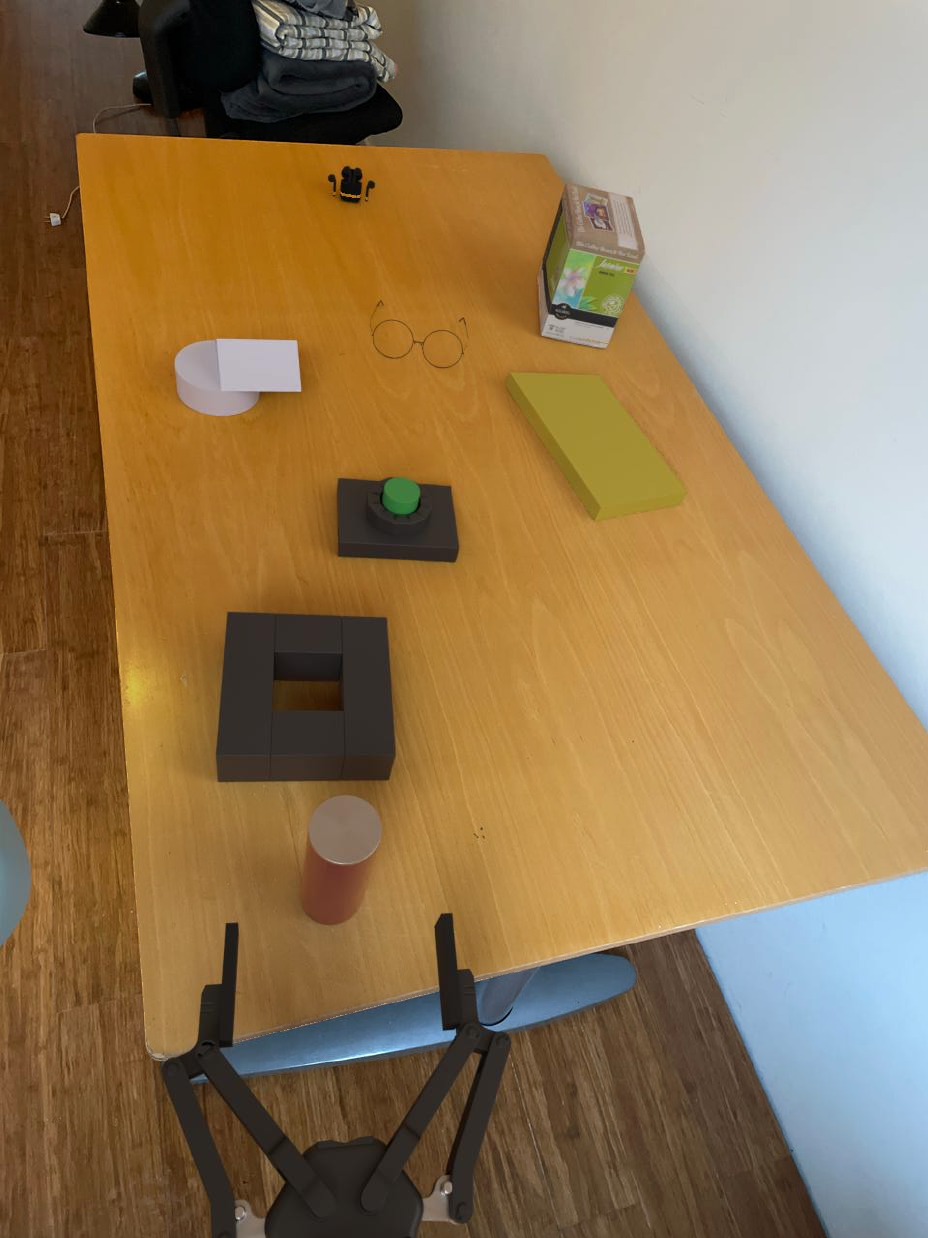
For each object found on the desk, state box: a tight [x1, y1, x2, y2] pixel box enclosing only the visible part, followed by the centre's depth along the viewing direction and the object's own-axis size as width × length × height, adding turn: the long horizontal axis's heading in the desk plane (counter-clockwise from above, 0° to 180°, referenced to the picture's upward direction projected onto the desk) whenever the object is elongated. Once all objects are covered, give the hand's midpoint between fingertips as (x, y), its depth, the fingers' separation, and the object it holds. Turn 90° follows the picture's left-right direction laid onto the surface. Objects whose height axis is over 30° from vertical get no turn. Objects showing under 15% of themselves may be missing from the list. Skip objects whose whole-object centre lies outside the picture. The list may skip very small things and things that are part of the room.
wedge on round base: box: [174, 338, 302, 417], centre depth 90 cm, size 9×7×13 cm
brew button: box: [382, 476, 420, 515], centre depth 81 cm, size 4×4×2 cm
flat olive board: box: [504, 371, 688, 522], centre depth 99 cm, size 12×2×24 cm
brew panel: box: [335, 476, 460, 563], centre depth 83 cm, size 12×9×4 cm
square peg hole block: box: [215, 611, 397, 783], centre depth 68 cm, size 14×14×4 cm
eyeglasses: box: [369, 300, 469, 369], centre depth 104 cm, size 11×13×5 cm
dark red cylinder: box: [299, 794, 383, 926], centre depth 56 cm, size 5×5×12 cm
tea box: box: [536, 182, 646, 349], centre depth 111 cm, size 15×10×15 cm
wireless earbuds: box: [327, 165, 376, 204], centre depth 122 cm, size 7×2×5 cm, turn 95°
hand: (340, 923), depth 53 cm, fingers open, 13 cm apart
